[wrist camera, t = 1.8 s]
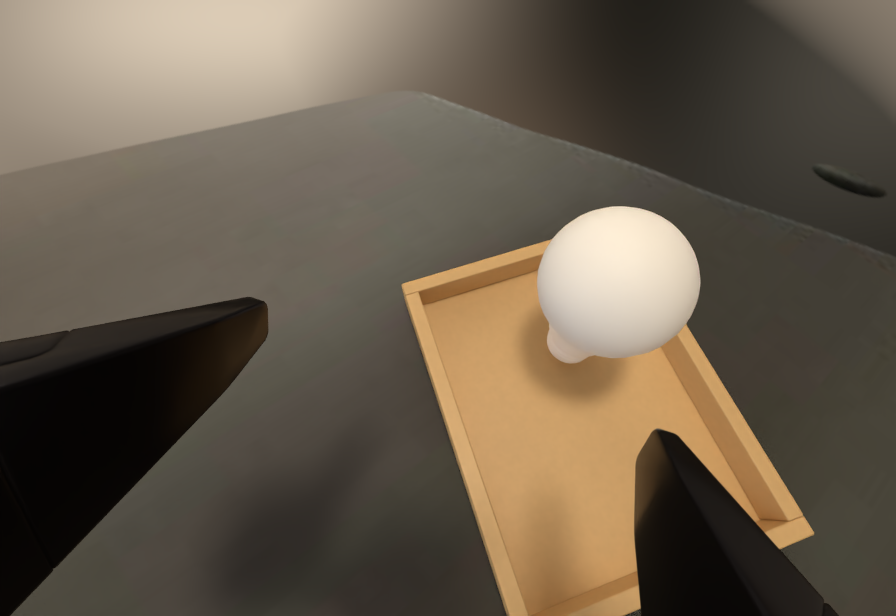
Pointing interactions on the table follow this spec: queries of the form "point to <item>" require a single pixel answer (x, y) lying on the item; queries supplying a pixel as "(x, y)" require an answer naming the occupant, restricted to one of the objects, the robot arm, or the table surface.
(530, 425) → the tray
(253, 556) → the table surface
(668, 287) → the lightbulb
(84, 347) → the robot arm
